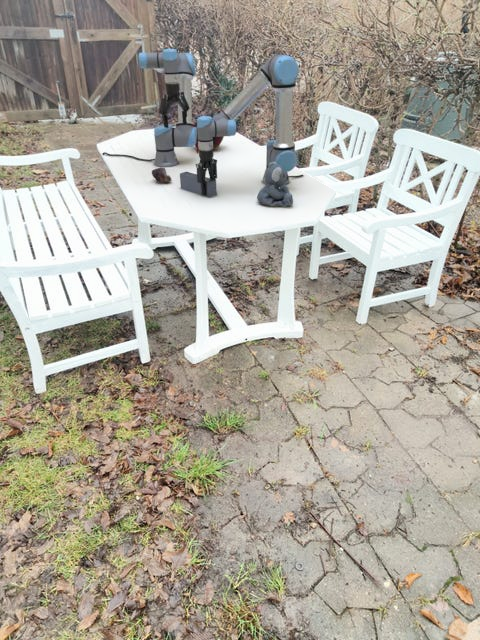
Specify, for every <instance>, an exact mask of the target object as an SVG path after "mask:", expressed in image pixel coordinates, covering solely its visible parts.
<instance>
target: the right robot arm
mask: <svg viewBox="0 0 480 640" xmlns="http://www.w3.org/2000/svg"><path fill="white" fill-rule="evenodd" d="M299 73H300V68H299V64H298V62H297V61H296V59H294V58H293V57H292V56H291V55H287V54H283V53H276V54H275V55H272V56H271V57H270V58H269V59H268V60H267V61H266V62H265V63H264V65H262V66H261V67H260V69H258V73H257V74H256V75H255V77H254V78H253V79H252V80H250V82H249V83H248V84H247V85H246V86H245V87H244V88H243V89H242V90H241V91H240V92H239V93H238V94H237V95H236V96H235V97H234V98H233V99H232V100H231V101H230V102H229V103H228V104H227V105H226V106H225V107H224V108H223V109H222V110H221V111H220V112H219V113H217V114H215V115H214V116H213V117H212V116H210V115H202V116H199V117H197V119H196V122H197V131H198V149H199V151H198V158H199V162H198V163H195V167H196V168H195V169H196V174H197V182H198V183H200V184H201V189H202V195H201V196H203V195H204V196H203V197H206V183H205V177H207V176H206V175H207V171H208V175H209V178H211V179H214V180H216V181H217V179H218V166H217V164H218V159H215V158H214V149H213V137H221V136H224V137H233V136H235V135H236V134H237V123H236V119H237V118H238V117H239V116H240V115H241V114H242V113H243V112H244V111H245V110H246V109H247V108H248V107H249V106H250V105H251V104H252V103H253V102H254V101H255V100H256V99H257V98H258V97H259V96H260V95H261V94H262V93H263V92H264V91H265V90H266V89H267V88H268V87H271V88H272V89H273V91H274V100H275V103H274V104H275V106H274V108H275V109H274V111H275V113H274V114H275V115H274V116H275V139H271V140H268V141H267V142H266V147H265V148H266V157H265V158H266V160H265V171H264V173H263V177H262V183H263V184H264V185H266V174H267V171H268V167H269V163H272V162H275V163H276V164H277V165H280V166H281V167H282V169H283V170H284V171H285V174H286V175H287V176H288V180H287V181H286V182H285V183H284V185H288V184H289V183H290V178H301V177H304V174H299V175H289V172H291V171H293V170H294V169H295V167H296V166H297V165H298V164H297V163H298V157H297V154H296V144H295V142H294V141H293V97H294V96H293V92H294V89H295V88H296V87H297V86H296V85H297V79H298V77H299ZM212 119H213V120H212Z"/></svg>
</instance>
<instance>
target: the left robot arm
mask: <svg viewBox="0 0 480 640" xmlns="http://www.w3.org/2000/svg"><path fill="white" fill-rule="evenodd" d="M138 65H139V68H140V69H146V70H147V69H148V70H155V72H157V73H160V74H164V82H165V84H164V85H165V91H166V94H164V93H161V100H160V101H161V102H160V106H159V110H158V114H159V115H161V117H162V118H161V119H162V122H163V124H162V125H158V126H156V127H155V128H154V129H153V136H154V145H155V155H154V158H152V159H151V158H150V159H146V158H141V157H137V156H134V155H129V154H117V153H116V154H115V153H114V154H112V153H111V154H110V153H109V152H105V151H104V152H103V153H102V156H104V155H107V156H109V157H110V156H111V157H128V158H131V159H132V158H133V159H135V160H137V161H142V162H153V161H154V165H155V166H157V167H162V168H167V167H168V168H169V167H174V166H177V165H178V164H179V159H178V157H177V153H176V151H175V148H194V147H196V146H195V144H196V139H197V128H196V127H194V124H195V123H194V122H193V108H192V107H193V105H192V81H193V80H194V76H196V75H197V69H196V63H195V58H194V55H193V53H190V52H178V51H177V49H175V48H166V49H165V48H164V49H162V51H161V52H160V51H159V52H158V51H157V52H152V51H151V52H150V51H149V52H146V51H143V52H139V53H138ZM173 103H177V122H176V123H175V127H173V125H172V124H169V119H168V114H167V113H168V111H169V109H170V107H171V105H172V104H173Z"/></svg>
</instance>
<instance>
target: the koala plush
mask: <svg viewBox="0 0 480 640" xmlns="http://www.w3.org/2000/svg"><path fill="white" fill-rule="evenodd" d="M288 176H289V175H288ZM288 176H287V175H286V174H285V171H284V170H283V169H282V167H281V166H280V165H277V164H276V163H275V162H272V163H269V167H268V171H267V174H266V184H264V186H263V187H262V188H260V190H259V191H258V193H257V196H256V200H257V201H258V203H260V204H263V205H264V206H267V207H281V208H282V207H285V208H286V207H291V206H292V205H293V204H294V196H293V193H291V192H290V190H289V187H288V184H285V185H284V183H285V182H286V181H287V180H288Z"/></svg>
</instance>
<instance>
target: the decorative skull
mask: <svg viewBox="0 0 480 640" xmlns="http://www.w3.org/2000/svg"><path fill="white" fill-rule="evenodd" d="M212 120H213V118H212ZM193 124H194V127H196V128H197V121H196V122H195V123H193ZM224 137H225V136H221V137H213V150H215V149H216V148H218V147H219V146H220V145H221V144H222V141H223V140H224ZM194 147H195V148H196V153H197V154H199V150H200V149H198V131H197V139H196V144H195V146H194Z"/></svg>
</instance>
